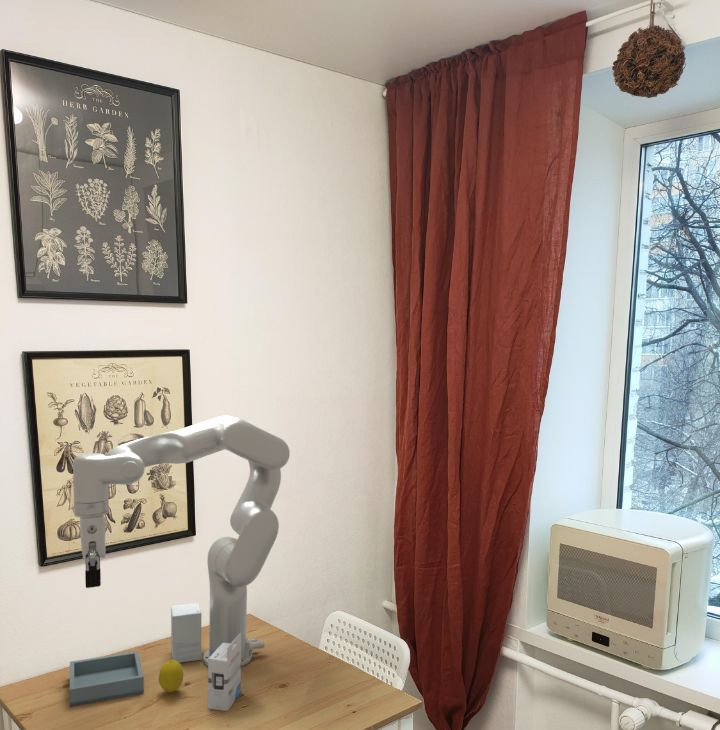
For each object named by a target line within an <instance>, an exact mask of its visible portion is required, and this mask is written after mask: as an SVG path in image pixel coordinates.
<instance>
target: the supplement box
mask: <svg viewBox="0 0 720 730" xmlns="http://www.w3.org/2000/svg"><path fill="white" fill-rule="evenodd" d="M200 607H201V606H200V605H199V602H192V603H185V604H176V605H171V606H170V608H171V609H170V611H171V612H170V614H171V617H170V619H171V621H170V622H171V623H170V624H171V625H170V626H171V627H170V631H171V632H170V634H171V636H170V637H171V638H170V644H171V645H170V652H171V657H172V659H173V660H176V661H178V662H179V663H180V664H181V663H185V662H186V663H187V662H194V661H199V660H202V611H201V608H200Z"/></svg>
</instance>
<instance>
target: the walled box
mask: <svg viewBox="0 0 720 730" xmlns="http://www.w3.org/2000/svg"><path fill="white" fill-rule="evenodd" d="M144 677H145V676H144V672H143V668H142V662H141V657H140V653H139V650H135V651H129V652H123V653H118V654H117V653H116V654H111V655H104V656H98V657H97V656H96V657H92V658H86V659H79V660H73V661H72V660H71V661H69V707H70V708H71V707H77V706H83V705H88V704H93V703H99V702H104V701H110V700H115V699H120V698H121V699H122V698H126V697H132V696H136V695H137V694H138V695H142V694H144V693H145V692H144V691H145V685H144V684H145V679H144ZM138 695H137V696H138Z"/></svg>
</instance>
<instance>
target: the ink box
mask: <svg viewBox="0 0 720 730" xmlns="http://www.w3.org/2000/svg"><path fill="white" fill-rule="evenodd" d="M234 643H236V644H234ZM207 667H208V668H207V671H208V672H207V709H209V710H215V711H224V712H228V711H230V710H229V709H230V708H231V707H232V706H233V704H234V703H235V701H236V700H237V698H238V697H239V696H240V694H241V692H242V691H241V689H242V687H241V686H242V666H241V633H239V635H238V636H237V637H236V638H235V639H234V640H233V641H232V643H231V644H230V643H222V644H221V645H220V646H219V647H218V648H217V650H216V651H215V652H214V653H213V654H212V655H211V656H210V657H209V658H208V666H207Z"/></svg>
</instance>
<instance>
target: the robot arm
mask: <svg viewBox="0 0 720 730" xmlns="http://www.w3.org/2000/svg"><path fill="white" fill-rule="evenodd" d="M224 450H226V451H228V452H230V453H233V455H236V456H238V457H240V458H241V459H245V460H246V461H247V462H248V465H249V476H248V478H247V479H248V480H247V482H246V484H245V487H244V488H243V491H242V493H241V494H240V497H239V499H238V500H237V503H236V505H235V507H234V508H233V510H232V513H231V515H230V518H229V522H230V527H231V528H232V530H233V531H234V532H235V533H236V534H238V537H237V538H235V537H230V536H224V537H220V538H219V539H217V540H215V541H214V542H213V543H212V544H211V546H210V547H209V549H208V552H207V560H206V561H207V572H208V579H209V624H208V625H209V626H208V627H209V632H208V633H209V635H208V636H209V637H208V638H209V643H208V646H209V648H208V649H207V650H206V651H205V652H204V653H203V655H202V661H203V663H204V664H205V665H206V666H207V667H208V658H209V657H210V656H211V655H212V654H213V653H214V652H215V651H216V650H217V648H218V647H219V646H220V645H221V644H222V643H230V644H231V643H232V641H233V640H234V639H235V638H236V637H237V636H238V635H239V633H241V667H243V666H245V665H247V664H249V662H250V661H251V660H252V658H253V651H254V650H256V649H257V650H258V649H263V648H264V649H265V640H264V639H263V640H258V638H257V637H256V638H254V637H253V638H250V639H249V638H248V637H247V625H248V624H247V622H248V621H247V619H248V618H247V616H248V614H247V612H248V611H247V609H248V606H247V605H248V604H247V603H248V589H247V588H248V586H249V585H250V584H252V583H253V582H254V581H255V580H256V579H257V577H259V574H260V572H261V571H262V569H263V567H264V565H265V562H266V561H267V558H268V556H269V555H270V553H271V550H272V548H273V546H274V544H275V542H276V539H277V538H278V534H279V527H280V525H279V519H278V516H277V514H276V513H275V512H274V510H272V509H271V508H272V506H273V504H274V501H275V500H276V496H277V494H278V492H279V489H280V486H281V481H282V479H281V478H282V470H281V469H282V468H283V467H284V466H286V464H287V463H288V461H289V459H290V451H291V450H290V448H289V445H288V444H287V443H286V441H285V440H284V439H282V438H280V437H278V436H276V435H274V434H272V433H270V432H269V431H266V430H264V429H261V428H259V427H258V426H256V425H254V424H252V423H250V422H248V421H247V420H244V419H242V418H240V417H237V416H232V415H226V414H225V415H220V416H216V417H214V418H210V419H207V420H204V421H202V422H198V423H195V424H192V425H189V426H186V427H182V428H180V429H176V430H171V431H167V432H163V433H159V434H155V435H150V436H146V437H145V436H144V437H141V438H139V439H135V440H133V441H129V442H126V443H124V444H120V445H117V446H115V447H113V448H111V449H110V450H108V452H107V453H106V454H103V453H100V452H99V453H98V452H97V453H96V452H95V453H83V454H80V455H77V456H76V457H74V460H73V462H72V463H73V464H72V467H73V469H72V470H73V471H72V472H73V473H72V474H73V475H72V477H73V478H72V479H73V515H74V517H76V518H79V526H80V527H79V530H80V546H81V554H82V559H83V560H84V561H85V571H84V572H85V573H84V575H85V577H84V579H85V580H84V581H85V588H86V589H90V588H97V587H100V586H101V585H102V581H101V576H102V575H101V574H102V573H101V558H102V559H104V558H106V554H107V553H106V552H107V551H106V519H105V516H106V515H107V514H108V513H109V512H110V510H109V509H110V508H109V507H110V505H109V502H110V500H109V498H110V497H109V485H120V486H121V485H122V486H123V485H132V484H135V483H137V482H139V480H141V478H142V477H143V476H144V473H145V468H147V467H151V466H155V465H160V464H161V465H163V464H173V465H174V464H176V465H177V464H179V465H180V464H188V463H190V462H193V461H197V460H199V459H201V458H205V457H207V456H210V455H213V454H215V453H218V452H221V451H224ZM234 644H236V643H234Z"/></svg>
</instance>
